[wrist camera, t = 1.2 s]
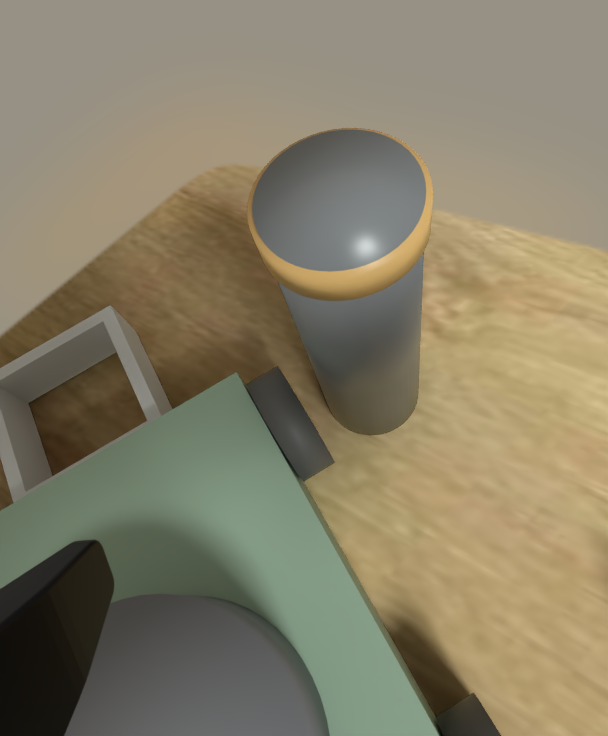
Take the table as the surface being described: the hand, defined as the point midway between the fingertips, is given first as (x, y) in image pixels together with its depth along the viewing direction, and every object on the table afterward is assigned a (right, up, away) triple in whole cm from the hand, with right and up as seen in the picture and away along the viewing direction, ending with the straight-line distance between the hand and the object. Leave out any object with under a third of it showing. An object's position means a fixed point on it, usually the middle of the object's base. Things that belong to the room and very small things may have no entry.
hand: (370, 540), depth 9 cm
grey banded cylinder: (+2, +2, +15) cm, 15 cm away
